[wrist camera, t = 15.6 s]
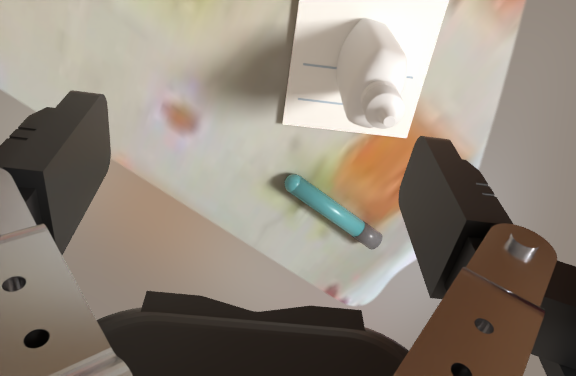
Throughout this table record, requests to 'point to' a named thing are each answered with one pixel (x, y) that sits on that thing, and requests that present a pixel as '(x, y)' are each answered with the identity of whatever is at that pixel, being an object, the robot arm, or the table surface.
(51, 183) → the robot arm
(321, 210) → the marker
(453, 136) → the table surface
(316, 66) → the notepad
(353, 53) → the white tapered bottle shape
